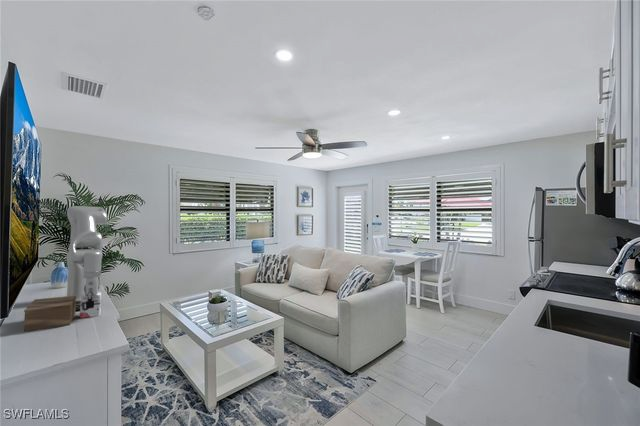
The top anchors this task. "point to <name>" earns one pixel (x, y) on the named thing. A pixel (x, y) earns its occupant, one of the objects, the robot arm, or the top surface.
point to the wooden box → (49, 318)
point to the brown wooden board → (51, 303)
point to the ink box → (91, 311)
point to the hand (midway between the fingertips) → (90, 305)
